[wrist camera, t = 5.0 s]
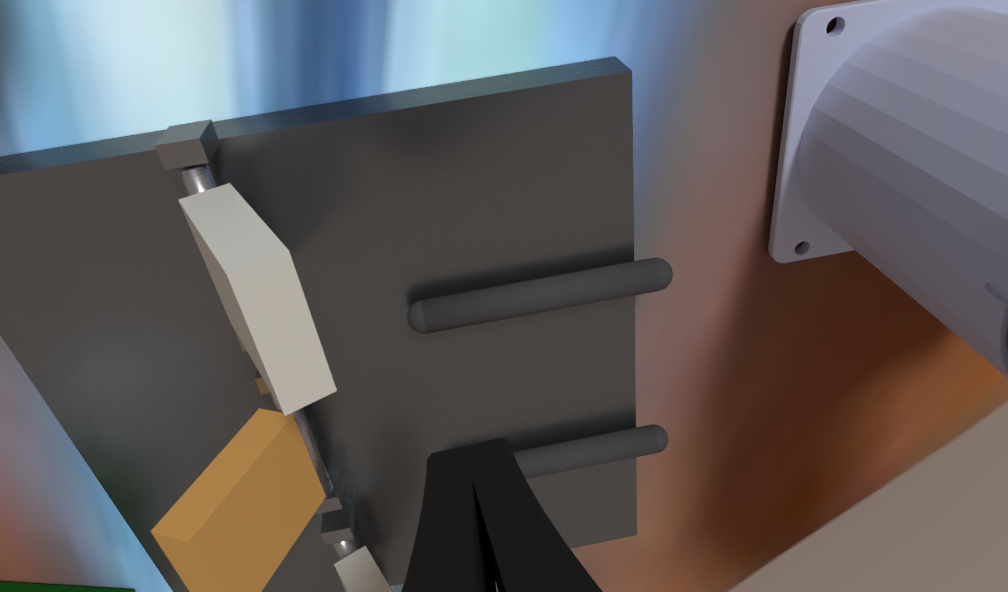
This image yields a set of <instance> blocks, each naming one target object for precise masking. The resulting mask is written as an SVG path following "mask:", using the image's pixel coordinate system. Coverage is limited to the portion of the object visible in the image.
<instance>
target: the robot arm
mask: <svg viewBox="0 0 1008 592" xmlns="http://www.w3.org/2000/svg"><path fill="white" fill-rule="evenodd" d="M835 17H837V24H836V26H835V28H834V29H833V30H832V31H831V32H830V33H827V31H826V28H827V25H828V23H829V22H830V21H831V20H832V19H833V18H835ZM803 241H804V242H803ZM800 242H803V244H802V246H801V247H800V248H798V249H795V247H796V246H797V245H798V244H799V243H800ZM853 250H856V251H857V252H858V253H859V254H860V255H862V256H863V257H864V258H865V259H866V260H868V261H869V262H870V263H871V264H872V265H874V266H875V267H876V268H877V269H878V270H880V271H881V272H882V273H883V274H884V275H886V276H887V277H888V278H889V279H890V280H892V281H893V282H894V283H895V284H896V285H897V286H899V287H900V288H901V289H902V290H903V291H905V292H906V293H907V294H908V295H909V296H911V297H912V298H913V299H914V300H915V301H917V302H918V303H919V304H920V305H921V306H923V307H924V308H925V309H926V310H927V311H929V312H930V313H931V314H932V315H933V316H935V317H936V318H937V319H938V320H939V321H940V322H942V323H943V324H944V325H945V326H946V327H948V328H949V329H950V330H951V331H952V332H954V333H955V334H956V335H957V336H958V337H960V338H961V339H962V340H963V341H964V342H966V343H967V344H968V345H969V346H970V347H972V348H973V349H974V350H975V351H976V352H978V353H979V354H980V355H981V356H982V357H983V358H985V359H986V360H987V361H988V362H989V363H991V364H992V365H993V366H994V367H995V368H997V369H998V370H999V371H1000V372H1001V373H1003V374H1004V375H1005V376H1006V377H1007V378H1008V0H860V1H854V2H847V3H841V4H835V5H829V6H823V7H816V8H812V9H810V10H807V11H806V12H805V13H803V14H802V15H801V16H800V18H799V19H798V21H797V22H796V25H795V29H794V35H793V44H792V52H791V61H790V69H789V78H788V86H787V94H786V103H785V111H784V120H783V128H782V137H781V145H780V154H779V162H778V171H777V179H776V187H775V196H774V204H773V213H772V221H771V230H770V238H769V247H768V251H769V254H770V256H771V257H772V258H773V259H774V260H775V261H776V262H779V263H789V262H794V261H799V260H805V259H810V258H816V257H821V256H826V255H832V254H837V253H843V252H848V251H853ZM495 580H496V584H497V587H498V591H499V592H603V591H602V590H601V589H600V588H599V586H598V585H597V584H596V583H595V581H594V580H593V579H592V578H591V576H590V575H589V574H588V572H587V571H586V570H585V568H584V567H583V566H582V565H581V563H580V562H579V561H578V559H577V558H576V557H575V555H574V554H573V552H572V551H571V550H570V548H569V547H568V545H567V544H566V543H565V541H564V540H563V538H562V537H561V535H560V534H559V532H558V531H557V529H556V528H555V526H554V525H553V523H552V522H551V520H550V519H549V517H548V516H547V514H546V513H545V511H544V510H543V508H542V507H541V505H540V503H539V502H538V500H537V498H536V497H535V495H534V493H533V491H532V490H531V488H530V486H529V484H528V483H527V481H526V479H525V477H524V475H523V473H522V471H521V469H520V467H519V465H518V463H517V461H516V459H515V456H514V454H513V452H512V449H511V446H510V443H509V441H508V440H506V439H504V438H498V439H493V440H489V441H484V442H479V443H475V444H470V445H466V446H461V447H457V448H452V449H448V450H443V451H439V452H434V453H432V454H431V455H430V456H429V457H428V458H427V466H426V480H425V489H424V496H423V502H422V508H421V513H420V519H419V524H418V529H417V533H416V537H415V542H414V546H413V550H412V554H411V559H410V563H409V567H408V571H407V575H406V578H405V582H404V585H403V588H402V592H496V584H495Z"/></svg>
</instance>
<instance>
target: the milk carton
mask: <svg viewBox="0 0 1008 592" xmlns="http://www.w3.org/2000/svg"><path fill="white" fill-rule="evenodd" d="M0 592H134V589H119V588H102V587H86V586H70V585H53V584H37V583H20V582H4V581H0Z"/></svg>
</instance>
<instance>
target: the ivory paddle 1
mask: <svg viewBox="0 0 1008 592" xmlns="http://www.w3.org/2000/svg"><path fill="white" fill-rule="evenodd" d="M178 201H179V203H180V205H181V208H182V210H183V212H184V215H185V217H186V219H187V222H188V224H189V226H190V229H191V231H192V233H193V236H194V238H195V240H196V243H197V245H198V247H199V250H200V252H201V254H202V257H203V259H204V261H205V264H206V266H207V268H208V271H209V273H210V275H211V278H212V280H213V283H214V285H215V287H216V290H217V292H218V294H219V297H220V299H221V301H222V304H223V306H224V308H225V311H226V313H227V315H228V318H229V320H230V322H231V325H232V326H233V328H234V330H235V331H236V333H237V335H238V337H239V338H240V340H241V342H242V343H243V345H244V347H245V349H246V350H247V352H248V354H249V355H250V357H251V359H252V361H253V362H254V364H255V366H256V367H257V369H258V371H259V373H260V374H261V376H262V378H263V379H264V381H265V383H266V385H267V386H268V388H269V390H270V391H271V393H272V395H273V397H274V398H275V400H276V402H277V403H278V405H279V407H280V409H281V410H282V412H283V414H284V415H285V416H286V415H288V414H290V413H292V412H294V411H296V410H299V409H301V408H303V407H305V406H307V405H309V404H311V403H313V402H315V401H317V400H319V399H321V398H323V397H325V396H327V395H330V394H332V393H334V392H336V391H337V389H336V387H335V384H334V381H333V378H332V375H331V372H330V369H329V366H328V363H327V360H326V357H325V354H324V351H323V348H322V346H321V343H320V340H319V337H318V334H317V331H316V328H315V325H314V322H313V319H312V316H311V313H310V310H309V307H308V305H307V302H306V299H305V296H304V293H303V290H302V287H301V284H300V281H299V278H298V275H297V272H296V269H295V266H294V264H293V261H292V258H291V255H290V252H289V250H288V249H287V248H286V247H285V245H284V244H283V243H282V242H281V241H280V240H279V239H278V237H277V236H276V235H275V234H274V233H273V232H272V231H271V229H270V228H269V227H268V226H267V225H266V224H265V223H264V221H263V220H262V219H261V218H260V217H259V216H258V215H257V213H256V212H255V211H254V210H253V209H252V208H251V207H250V206H249V204H248V203H247V202H246V201H245V200H244V199H243V198H242V196H241V195H240V194H239V193H238V192H237V191H236V190H235V188H234V187H233V186H232V185H231V184H230V183H228V184H225V185H222V186H219V187H216V188H213V189H210V190H207V191H203V192H200V193H197V194H194V195H191V196H188V197H185V198H182V199H179V200H178Z"/></svg>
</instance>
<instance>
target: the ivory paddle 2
mask: <svg viewBox="0 0 1008 592" xmlns="http://www.w3.org/2000/svg"><path fill="white" fill-rule="evenodd" d="M334 566H335V568H336V570H337V573H338V575H339V577H340V580H341V582H342V584H343V587H344V589H345V591H346V592H393V591H392V590H391V588H390V586H389V585H388V583H387V581H386V579H385V578H384V576H383V574H382V573H381V571H380V569H379V568H378V566H377V564H376V563H375V561H374V559H373V557H372V556H371V554H370V552H369V551H368V549H367V547H366V546H364V547H362V548H360V549H359V550H357V551H355V552H354V553H352V554H350V555H348V556H347V557H345V558H343V559H342V560H340V561H338V562H337V563H335V564H334Z"/></svg>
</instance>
